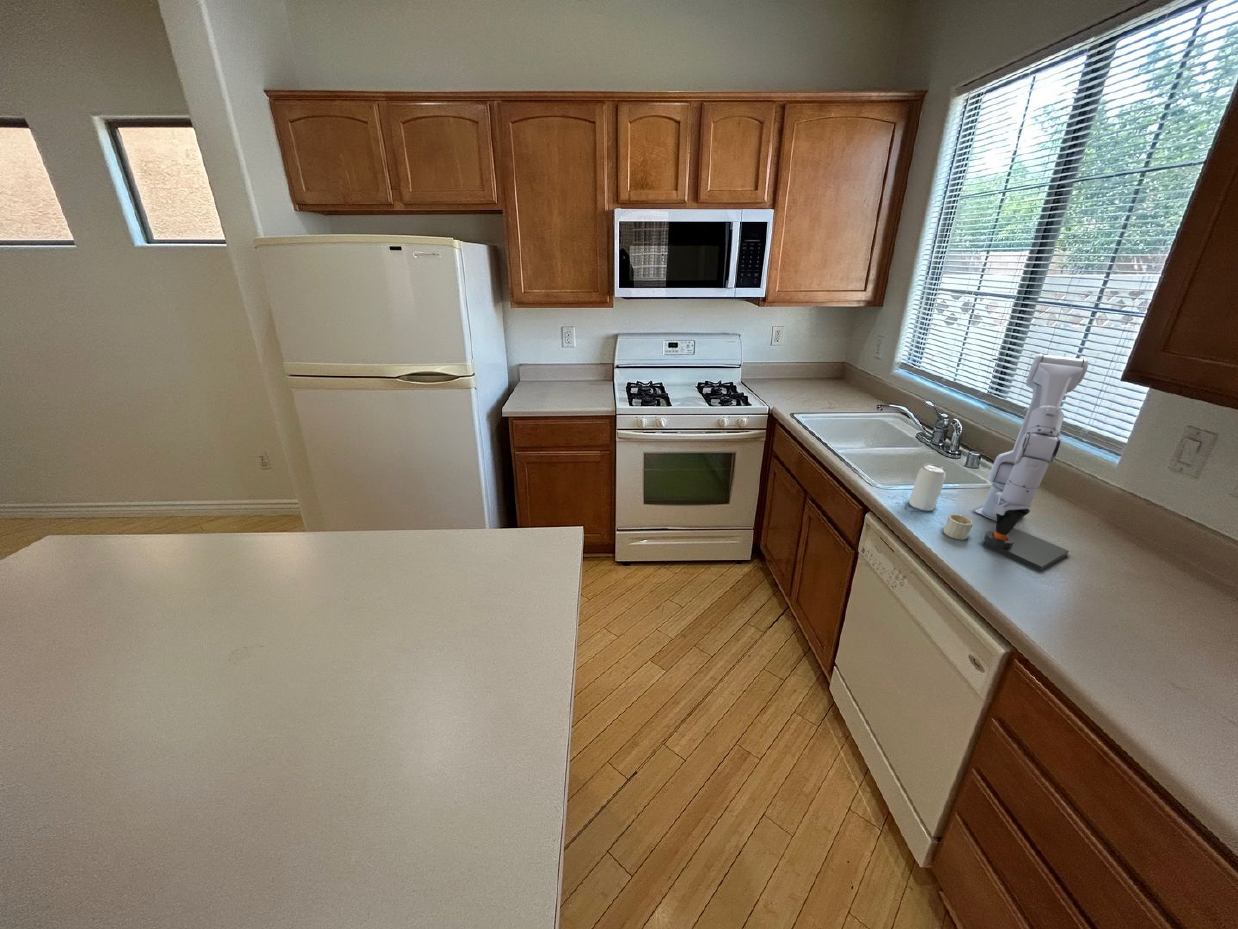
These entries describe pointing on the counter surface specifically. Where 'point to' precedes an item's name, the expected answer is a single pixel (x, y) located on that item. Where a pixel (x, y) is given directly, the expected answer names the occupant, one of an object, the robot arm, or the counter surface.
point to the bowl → (958, 526)
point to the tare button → (1000, 536)
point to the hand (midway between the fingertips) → (1001, 532)
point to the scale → (1026, 549)
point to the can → (927, 487)
